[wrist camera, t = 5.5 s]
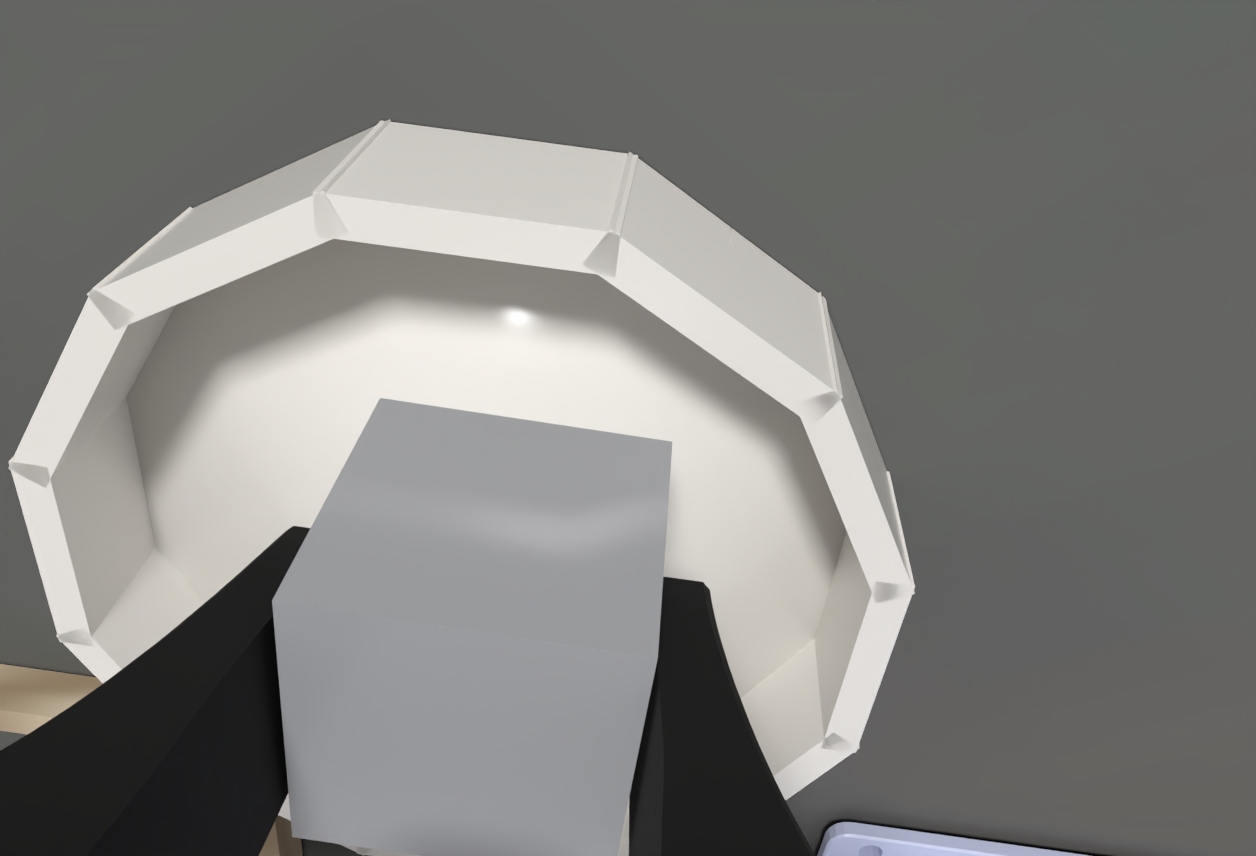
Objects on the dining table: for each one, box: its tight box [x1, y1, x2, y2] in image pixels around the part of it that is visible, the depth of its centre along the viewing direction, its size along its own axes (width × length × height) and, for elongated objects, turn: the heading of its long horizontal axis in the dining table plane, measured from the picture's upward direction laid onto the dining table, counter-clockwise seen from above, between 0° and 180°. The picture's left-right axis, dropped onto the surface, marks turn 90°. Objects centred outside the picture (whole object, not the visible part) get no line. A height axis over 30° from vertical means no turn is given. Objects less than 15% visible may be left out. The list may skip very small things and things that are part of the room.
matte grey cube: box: [272, 398, 672, 856], centre depth 13 cm, size 4×4×4 cm
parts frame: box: [0, 664, 303, 856], centre depth 26 cm, size 12×12×1 cm
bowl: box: [8, 119, 915, 856], centre depth 18 cm, size 14×14×3 cm
